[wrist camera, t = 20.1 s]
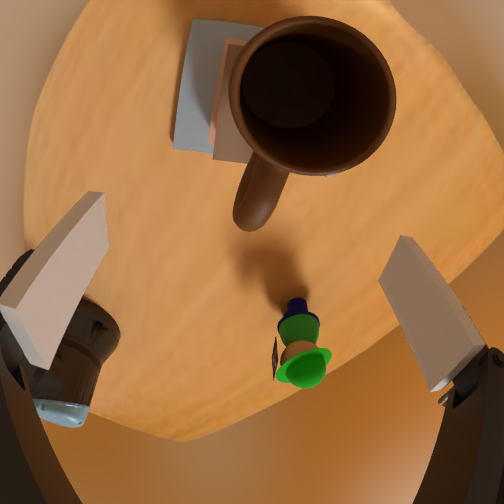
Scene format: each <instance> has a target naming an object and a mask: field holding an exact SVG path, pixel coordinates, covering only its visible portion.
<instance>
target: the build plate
mask: <svg viewBox="0 0 504 504" xmlns="http://www.w3.org/2000/svg"><path fill="white" fill-rule="evenodd" d="M263 29H265V27H260V26H254V25H247V24H241V23H233V22H225V21H215V20H204V19H192V23H191V28H190V33H189V38H188V44H187V49H186V55H185V60H184V66H183V72H182V79H181V85H180V92H179V99H178V107H177V115H176V123H175V132H174V142H173V149H179V150H187V151H195V152H203V153H211V154H213V151H214V142H215V134H216V125H217V117H218V110H219V102H220V95H221V87H222V80H223V73H224V67H225V60H226V54H227V48H228V44H233V45H242V46H245V44H246V43H247V42H248V41H249V40H250V39H251V38H252V37H253V36H255V35H256V34H257V33H259V32H260V31H262V30H263ZM335 175H336V173H335V174H331V175H329V176H333V177H335Z"/></svg>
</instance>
